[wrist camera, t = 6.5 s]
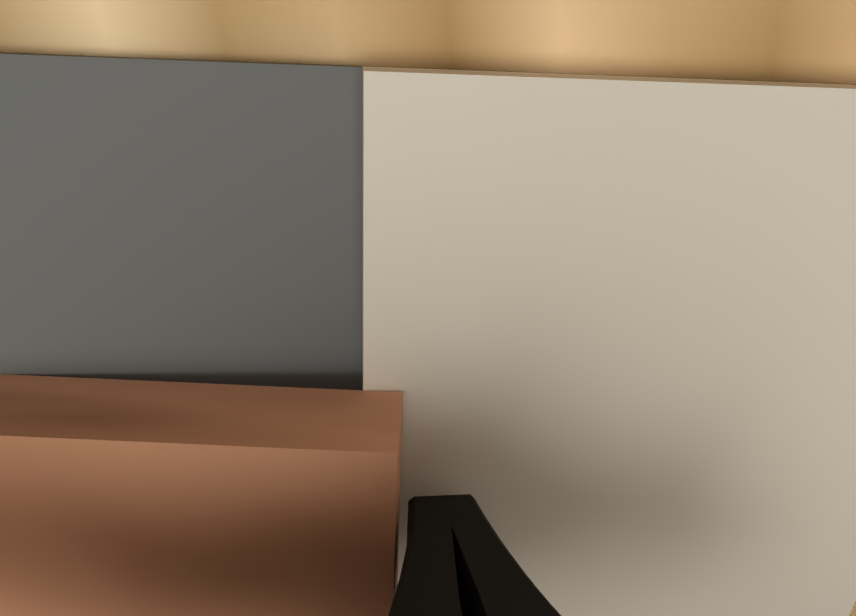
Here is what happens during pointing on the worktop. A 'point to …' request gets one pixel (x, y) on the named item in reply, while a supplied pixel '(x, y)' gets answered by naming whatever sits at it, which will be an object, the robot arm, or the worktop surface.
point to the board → (623, 328)
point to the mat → (181, 220)
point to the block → (197, 499)
